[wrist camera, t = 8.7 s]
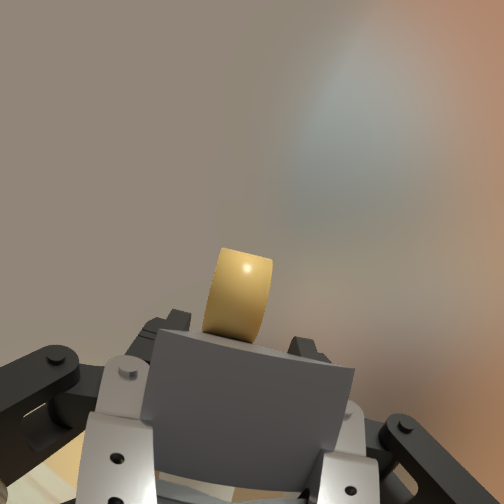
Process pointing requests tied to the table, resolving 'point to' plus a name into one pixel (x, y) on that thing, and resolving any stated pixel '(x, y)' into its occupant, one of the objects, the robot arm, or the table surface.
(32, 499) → the table surface
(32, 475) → the table surface
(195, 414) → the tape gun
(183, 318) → the robot arm
